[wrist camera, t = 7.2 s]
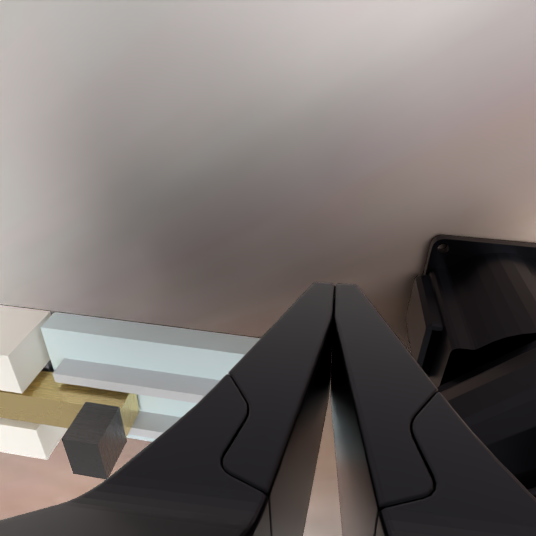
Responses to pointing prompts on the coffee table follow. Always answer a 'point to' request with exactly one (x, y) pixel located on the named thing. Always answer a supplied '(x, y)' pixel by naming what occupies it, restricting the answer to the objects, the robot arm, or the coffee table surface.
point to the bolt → (77, 419)
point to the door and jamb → (109, 368)
